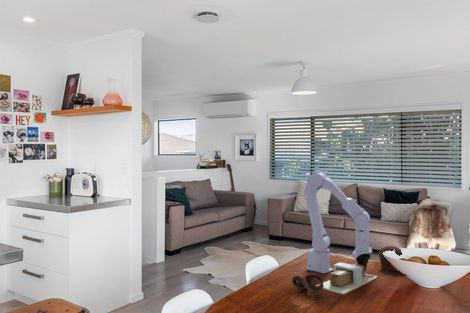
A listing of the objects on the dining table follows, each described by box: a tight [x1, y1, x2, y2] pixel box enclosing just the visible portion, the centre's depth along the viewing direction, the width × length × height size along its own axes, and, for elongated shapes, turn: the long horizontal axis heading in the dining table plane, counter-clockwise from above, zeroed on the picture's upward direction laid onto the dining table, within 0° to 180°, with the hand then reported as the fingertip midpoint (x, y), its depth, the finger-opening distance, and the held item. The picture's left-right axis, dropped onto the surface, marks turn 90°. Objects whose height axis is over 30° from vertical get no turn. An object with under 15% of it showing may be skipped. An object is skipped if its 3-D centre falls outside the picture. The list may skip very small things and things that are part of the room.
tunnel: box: [316, 262, 379, 296], centre depth 161 cm, size 12×28×7 cm, turn 135°
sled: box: [329, 263, 365, 287], centre depth 161 cm, size 5×19×4 cm, turn 135°
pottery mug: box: [291, 272, 324, 298], centre depth 149 cm, size 12×10×8 cm
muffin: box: [378, 245, 402, 272], centre depth 179 cm, size 12×11×10 cm
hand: (362, 271), depth 170 cm, fingers closed
